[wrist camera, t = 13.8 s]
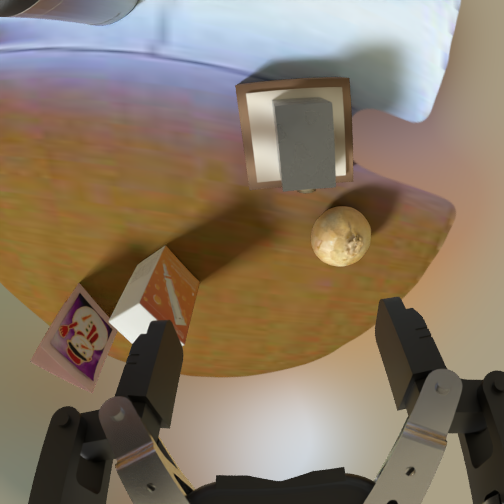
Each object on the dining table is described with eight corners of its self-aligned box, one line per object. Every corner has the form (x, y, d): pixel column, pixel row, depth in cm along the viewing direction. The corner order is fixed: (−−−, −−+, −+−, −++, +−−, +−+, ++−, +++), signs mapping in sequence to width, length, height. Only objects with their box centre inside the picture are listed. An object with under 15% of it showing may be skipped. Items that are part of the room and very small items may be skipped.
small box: (201, 281, 49) (186, 346, 38) (171, 298, 51) (151, 361, 40) (165, 243, 45) (138, 302, 34) (136, 263, 47) (106, 322, 36)
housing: (271, 100, 31) (274, 106, 25) (319, 96, 30) (332, 102, 25) (280, 181, 35) (284, 203, 30) (324, 178, 35) (336, 198, 30)
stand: (237, 84, 34) (235, 85, 30) (340, 77, 33) (350, 78, 29) (250, 178, 40) (249, 191, 36) (345, 170, 39) (354, 183, 35)
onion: (357, 252, 45) (371, 281, 39) (304, 250, 45) (311, 280, 39) (368, 201, 41) (386, 226, 35) (311, 197, 41) (320, 221, 35)
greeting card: (121, 326, 55) (95, 392, 42) (96, 335, 57) (69, 396, 44) (82, 280, 49) (43, 344, 37) (58, 293, 51) (21, 352, 39)
